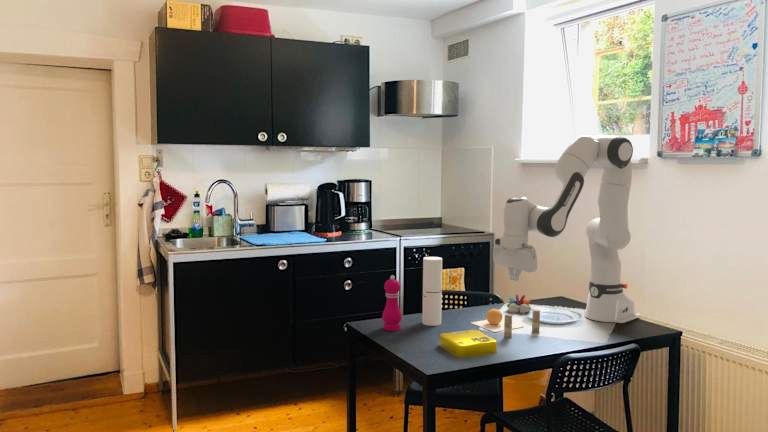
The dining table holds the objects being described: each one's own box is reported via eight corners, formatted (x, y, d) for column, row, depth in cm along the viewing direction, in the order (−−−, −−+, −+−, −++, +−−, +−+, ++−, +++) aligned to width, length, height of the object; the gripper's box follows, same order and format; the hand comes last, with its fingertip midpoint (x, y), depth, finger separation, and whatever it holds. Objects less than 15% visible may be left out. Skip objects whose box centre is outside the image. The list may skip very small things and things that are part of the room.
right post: (535, 330, 245) (536, 309, 244) (540, 332, 242) (541, 311, 241) (530, 331, 243) (531, 310, 242) (535, 333, 241) (536, 311, 240)
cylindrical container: (435, 326, 249) (436, 260, 246) (418, 323, 253) (419, 258, 250) (444, 322, 255) (445, 257, 252) (427, 319, 259) (428, 255, 256)
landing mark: (499, 318, 261) (499, 317, 261) (523, 327, 249) (523, 326, 249) (470, 323, 254) (470, 322, 254) (494, 332, 242) (494, 331, 242)
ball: (502, 328, 252) (494, 318, 257) (507, 315, 250) (499, 305, 254) (489, 328, 250) (481, 318, 254) (494, 315, 247) (486, 305, 252)
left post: (508, 335, 238) (508, 313, 237) (513, 337, 236) (513, 315, 235) (502, 336, 237) (503, 314, 236) (507, 338, 235) (507, 316, 234)
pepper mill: (389, 332, 241) (390, 278, 239) (378, 327, 247) (378, 274, 245) (405, 329, 245) (406, 275, 243) (393, 324, 251) (394, 272, 249)
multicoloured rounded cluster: (530, 315, 267) (531, 297, 266) (506, 313, 269) (506, 295, 268) (530, 309, 275) (531, 292, 274) (506, 308, 277) (507, 291, 276)
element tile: (476, 341, 233) (476, 327, 233) (498, 354, 220) (499, 340, 219) (437, 345, 228) (437, 332, 227) (458, 359, 214) (458, 345, 213)
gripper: (542, 245, 233) (540, 284, 234) (503, 237, 250) (502, 274, 252) (528, 247, 230) (527, 286, 231) (490, 239, 247) (489, 275, 249)
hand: (514, 279), depth 242 cm, fingers closed
